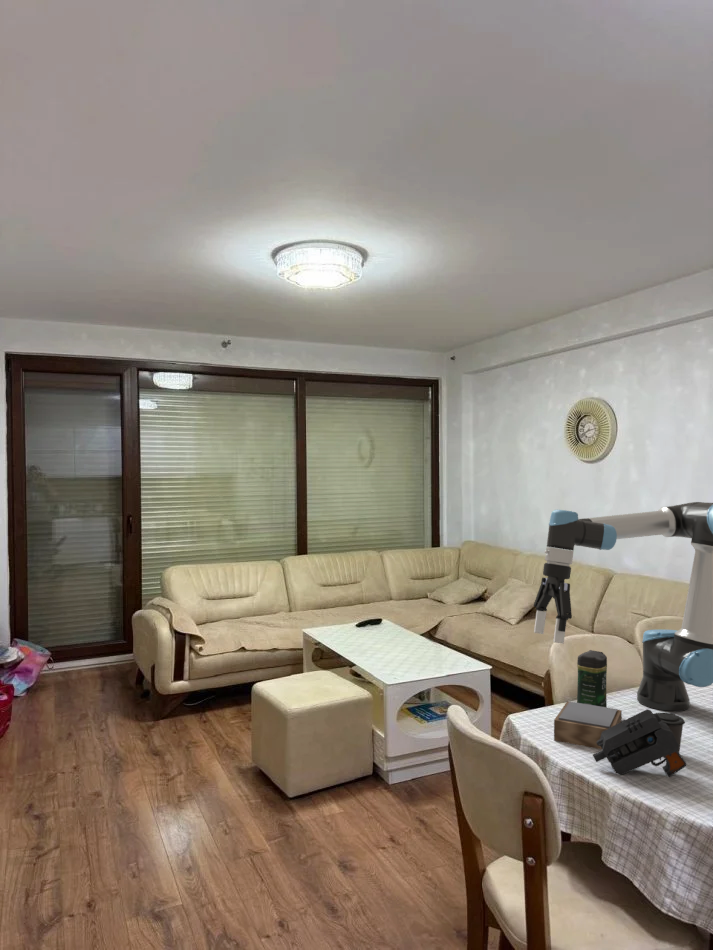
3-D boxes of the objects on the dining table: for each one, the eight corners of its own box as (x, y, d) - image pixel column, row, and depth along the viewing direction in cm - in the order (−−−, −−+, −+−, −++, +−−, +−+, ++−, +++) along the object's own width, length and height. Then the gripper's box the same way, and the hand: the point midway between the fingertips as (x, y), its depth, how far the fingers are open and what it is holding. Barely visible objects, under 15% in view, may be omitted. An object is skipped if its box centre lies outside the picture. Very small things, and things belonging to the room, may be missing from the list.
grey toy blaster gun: (694, 769, 153) (660, 711, 155) (619, 803, 157) (586, 746, 158) (687, 759, 159) (654, 703, 161) (614, 791, 163) (583, 736, 164)
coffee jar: (600, 721, 192) (600, 657, 192) (573, 715, 197) (573, 653, 197) (610, 712, 200) (610, 651, 200) (584, 706, 205) (584, 646, 205)
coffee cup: (684, 750, 171) (684, 712, 171) (685, 763, 164) (685, 723, 164) (650, 745, 175) (650, 707, 175) (650, 757, 167) (650, 718, 167)
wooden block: (621, 730, 185) (621, 708, 185) (612, 751, 171) (612, 728, 171) (566, 720, 193) (566, 699, 193) (554, 740, 178) (554, 718, 178)
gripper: (528, 558, 200) (519, 628, 199) (564, 565, 175) (554, 645, 174) (552, 561, 201) (542, 631, 200) (590, 569, 176) (580, 649, 175)
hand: (548, 638), depth 187 cm, fingers open, 13 cm apart
